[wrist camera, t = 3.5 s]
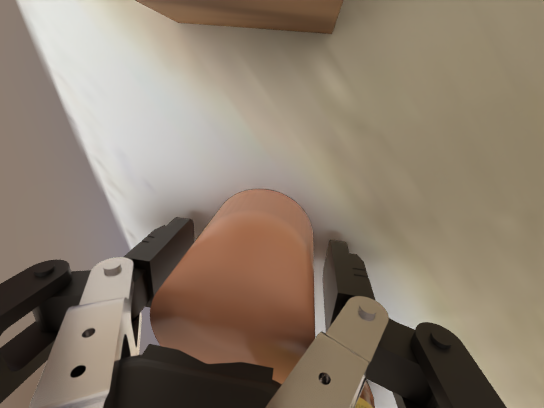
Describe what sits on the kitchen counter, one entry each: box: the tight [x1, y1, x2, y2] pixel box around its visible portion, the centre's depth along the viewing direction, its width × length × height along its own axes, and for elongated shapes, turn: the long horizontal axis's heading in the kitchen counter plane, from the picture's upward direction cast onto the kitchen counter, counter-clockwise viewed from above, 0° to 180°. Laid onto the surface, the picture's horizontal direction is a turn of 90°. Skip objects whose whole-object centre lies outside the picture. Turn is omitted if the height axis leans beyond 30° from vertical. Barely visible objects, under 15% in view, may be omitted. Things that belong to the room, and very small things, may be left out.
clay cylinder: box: [150, 189, 315, 384], centre depth 11 cm, size 5×5×6 cm
